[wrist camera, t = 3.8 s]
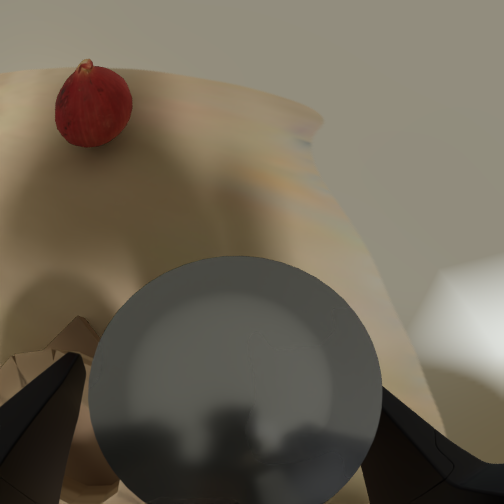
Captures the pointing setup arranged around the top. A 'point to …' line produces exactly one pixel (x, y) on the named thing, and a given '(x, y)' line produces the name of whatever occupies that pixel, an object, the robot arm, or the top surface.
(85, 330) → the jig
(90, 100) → the pomegranate
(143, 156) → the top surface
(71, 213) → the top surface
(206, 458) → the chrome metal cylinder
